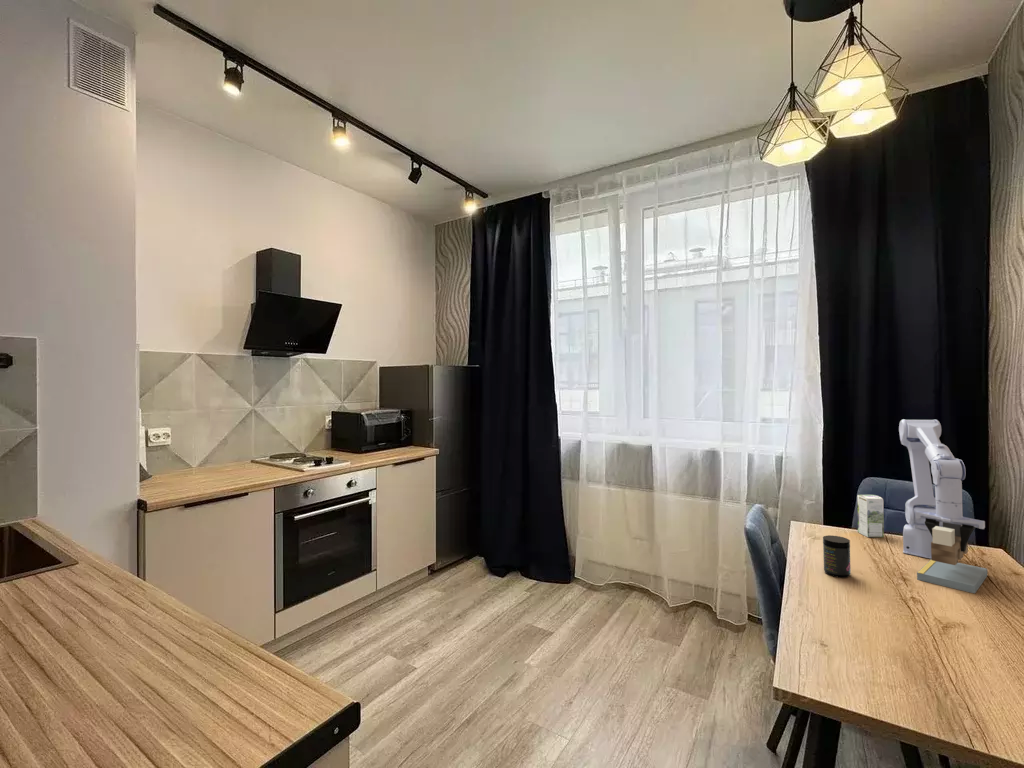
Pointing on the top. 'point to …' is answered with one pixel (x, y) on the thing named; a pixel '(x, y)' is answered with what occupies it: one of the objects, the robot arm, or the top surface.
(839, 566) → the supplement container
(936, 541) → the cream block
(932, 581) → the dock
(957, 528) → the gray cube
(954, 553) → the brown piece
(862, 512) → the syrup box
